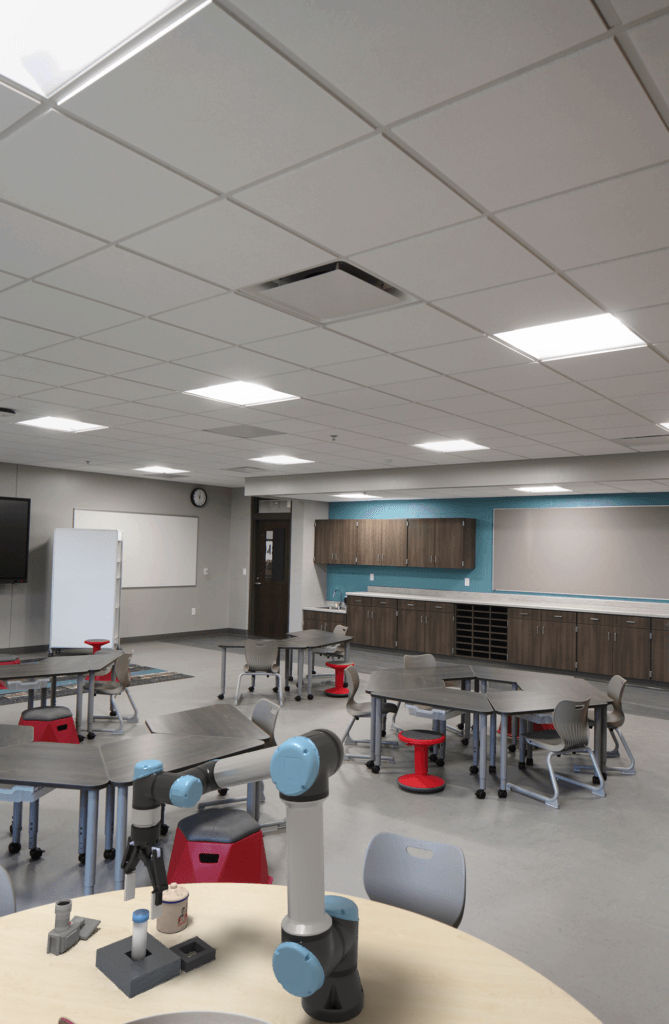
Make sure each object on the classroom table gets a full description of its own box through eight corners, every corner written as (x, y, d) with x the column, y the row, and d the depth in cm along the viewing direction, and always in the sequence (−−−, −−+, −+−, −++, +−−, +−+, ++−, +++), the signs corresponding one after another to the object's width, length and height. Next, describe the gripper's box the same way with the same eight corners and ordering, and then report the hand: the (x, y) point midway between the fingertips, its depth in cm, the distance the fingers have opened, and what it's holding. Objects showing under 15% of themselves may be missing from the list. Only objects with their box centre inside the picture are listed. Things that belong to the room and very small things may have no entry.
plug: (149, 970, 167) (152, 913, 169) (134, 977, 164) (137, 918, 166) (140, 963, 170) (144, 907, 172) (126, 970, 167) (129, 912, 169)
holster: (215, 959, 173) (215, 949, 173) (186, 973, 167) (186, 962, 167) (196, 945, 179) (196, 935, 179) (167, 958, 173) (168, 948, 173)
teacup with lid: (183, 934, 184) (185, 891, 186) (151, 933, 184) (154, 890, 186) (192, 913, 196) (194, 872, 198) (162, 912, 196) (164, 871, 198)
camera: (42, 905, 176) (77, 882, 190) (38, 952, 174) (74, 925, 188) (69, 910, 173) (103, 886, 188) (65, 957, 172) (100, 930, 186)
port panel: (180, 974, 166) (181, 956, 166) (129, 998, 156) (130, 979, 156) (144, 945, 178) (145, 929, 179) (95, 965, 169) (96, 948, 169)
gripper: (184, 831, 165) (181, 920, 163) (135, 807, 182) (131, 887, 180) (158, 839, 160) (154, 931, 157) (110, 814, 177) (106, 896, 175)
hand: (142, 908), depth 169 cm, fingers open, 13 cm apart
